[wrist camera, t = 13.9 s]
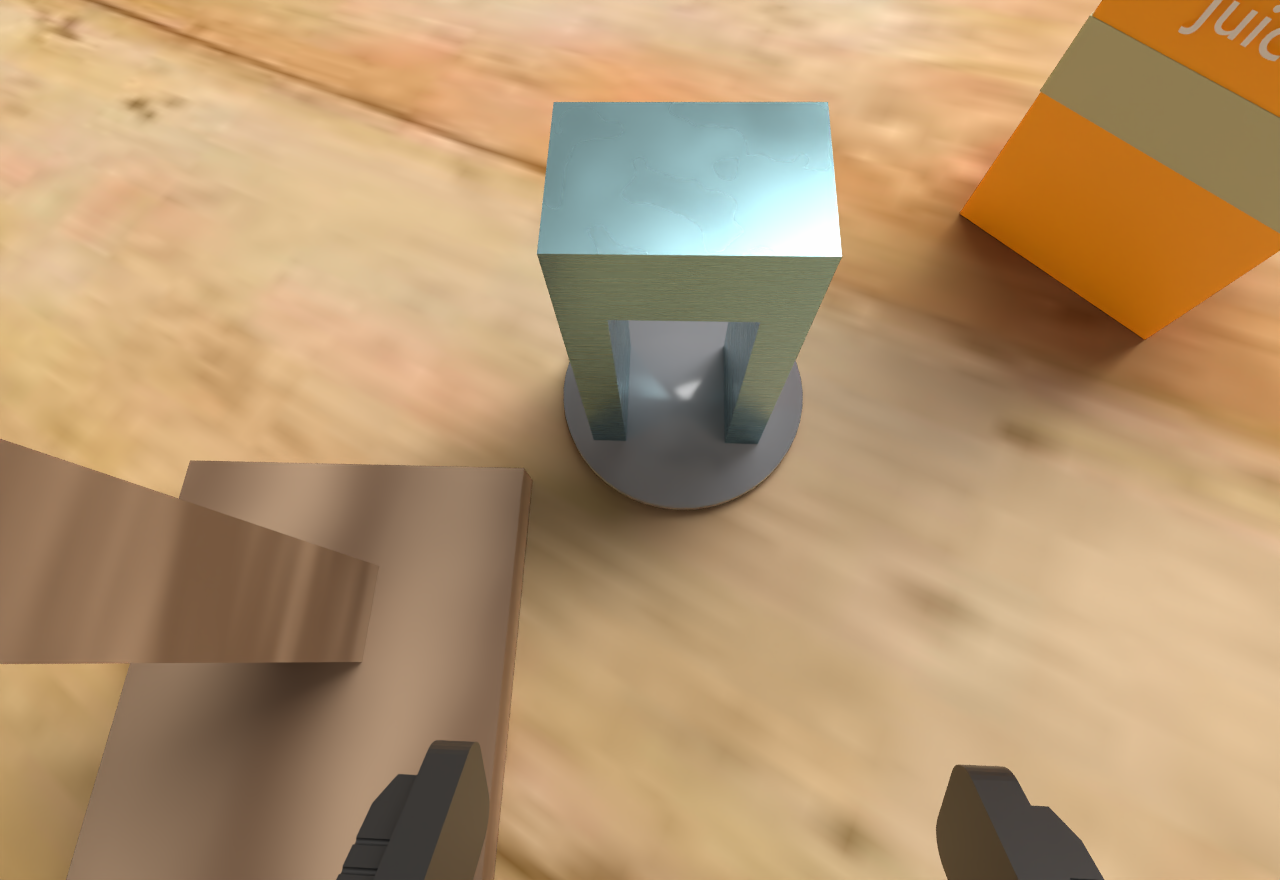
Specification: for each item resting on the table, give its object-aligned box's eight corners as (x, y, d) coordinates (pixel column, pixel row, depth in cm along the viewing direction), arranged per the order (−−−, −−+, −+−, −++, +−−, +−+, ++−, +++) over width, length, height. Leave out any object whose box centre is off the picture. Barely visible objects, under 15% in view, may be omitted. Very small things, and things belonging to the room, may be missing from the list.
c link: (754, 346, 24) (827, 102, 13) (757, 444, 22) (841, 257, 12) (600, 343, 24) (553, 102, 14) (593, 440, 23) (537, 254, 12)
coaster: (793, 297, 25) (796, 289, 24) (805, 513, 22) (809, 509, 21) (574, 294, 25) (572, 286, 25) (557, 507, 22) (554, 503, 22)
